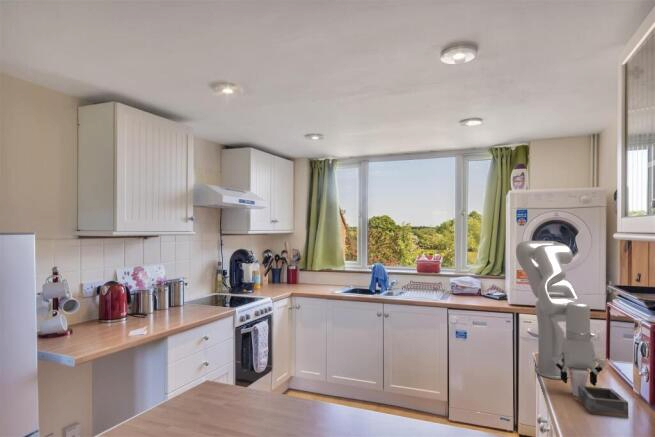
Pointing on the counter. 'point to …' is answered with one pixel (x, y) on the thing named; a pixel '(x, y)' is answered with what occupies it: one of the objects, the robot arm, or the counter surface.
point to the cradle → (603, 401)
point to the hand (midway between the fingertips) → (578, 382)
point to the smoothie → (578, 378)
